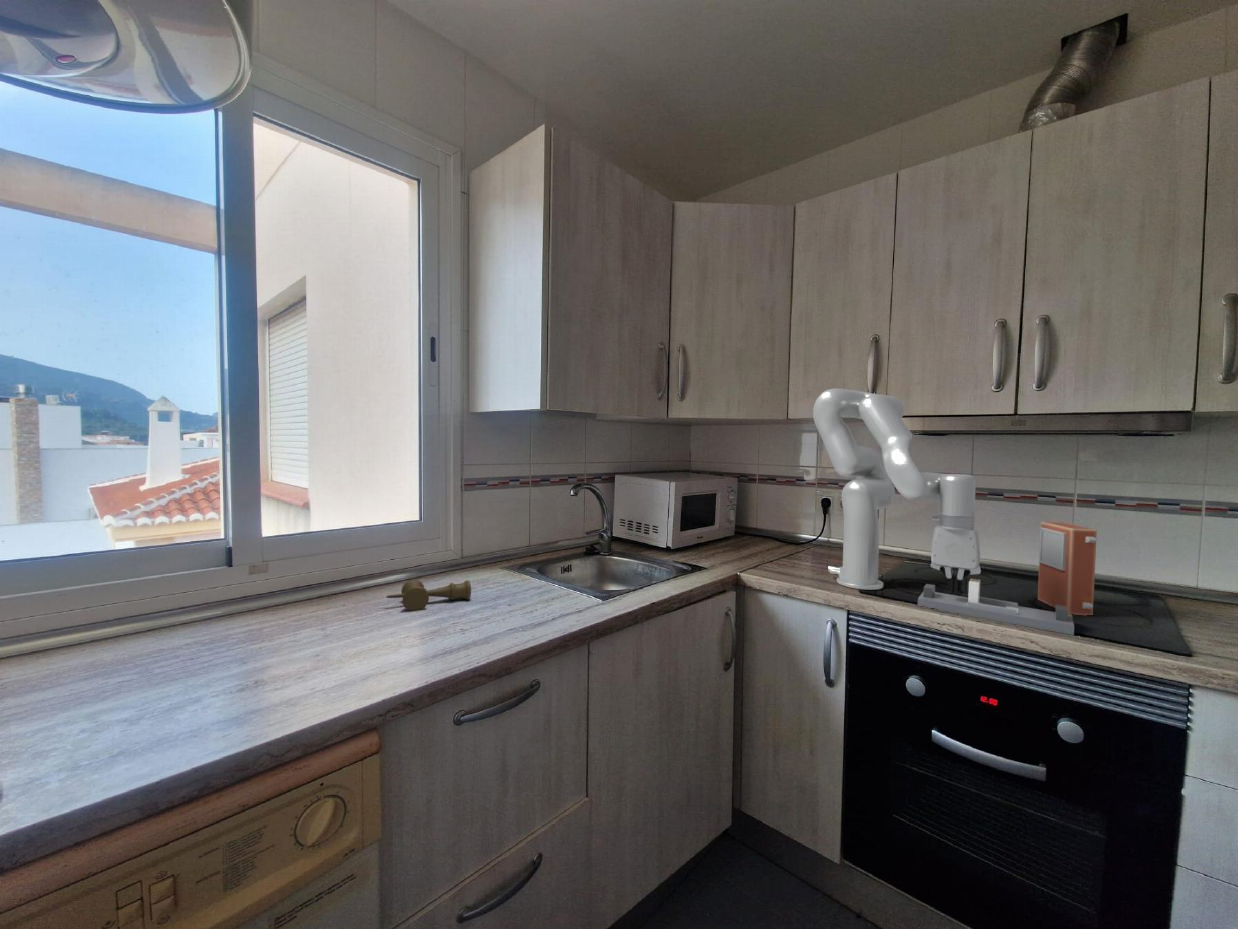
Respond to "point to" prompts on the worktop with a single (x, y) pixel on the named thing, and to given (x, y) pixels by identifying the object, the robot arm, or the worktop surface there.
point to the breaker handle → (974, 590)
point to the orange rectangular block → (1067, 566)
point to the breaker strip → (999, 611)
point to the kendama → (430, 593)
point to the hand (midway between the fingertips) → (954, 593)
